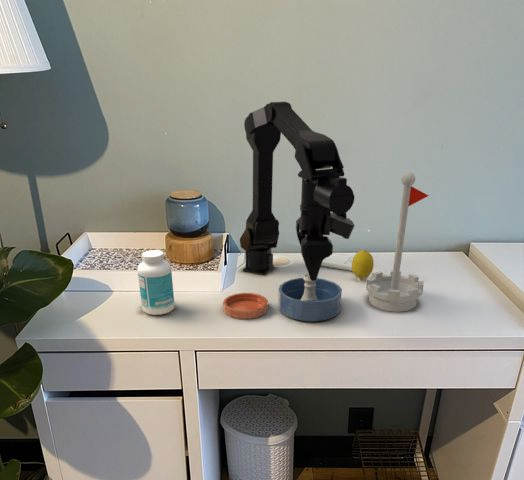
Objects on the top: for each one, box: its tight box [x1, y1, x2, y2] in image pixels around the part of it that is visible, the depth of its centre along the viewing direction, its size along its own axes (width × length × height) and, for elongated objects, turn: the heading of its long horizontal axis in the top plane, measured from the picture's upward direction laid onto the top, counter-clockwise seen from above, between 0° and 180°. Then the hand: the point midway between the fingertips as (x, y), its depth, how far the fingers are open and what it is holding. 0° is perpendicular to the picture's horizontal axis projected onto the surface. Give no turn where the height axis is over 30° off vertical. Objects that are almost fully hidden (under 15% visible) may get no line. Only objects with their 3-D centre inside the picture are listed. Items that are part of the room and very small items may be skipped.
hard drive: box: [321, 252, 355, 272], centre depth 154 cm, size 2×8×12 cm
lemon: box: [351, 249, 375, 281], centre depth 143 cm, size 6×6×8 cm
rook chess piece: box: [301, 272, 319, 301], centre depth 127 cm, size 4×4×8 cm
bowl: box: [277, 277, 343, 322], centre depth 127 cm, size 14×14×5 cm
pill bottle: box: [136, 249, 175, 316], centre depth 125 cm, size 8×7×14 cm
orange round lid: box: [222, 292, 269, 320], centre depth 128 cm, size 10×10×2 cm
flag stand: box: [365, 171, 430, 313], centre depth 125 cm, size 13×13×30 cm
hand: (311, 272), depth 124 cm, fingers open, 9 cm apart
